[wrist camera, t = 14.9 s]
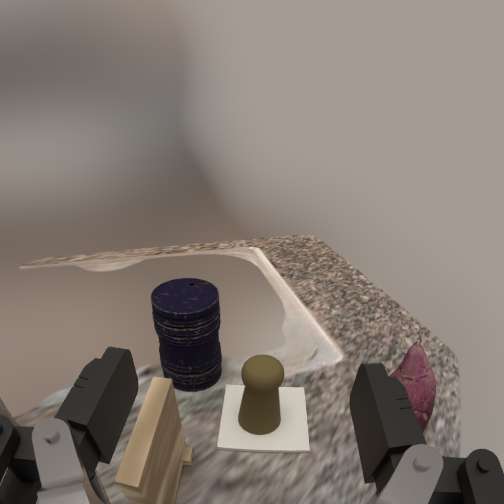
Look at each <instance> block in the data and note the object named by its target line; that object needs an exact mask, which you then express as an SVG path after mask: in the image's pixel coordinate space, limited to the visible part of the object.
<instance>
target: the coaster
mask: <svg viewBox="0 0 504 504" xmlns="http://www.w3.org/2000/svg"><path fill="white" fill-rule="evenodd" d="M244 387H245V386H242V385H227V384H226V391H225V398H224V404H223V411H222V418H221V424H220V431H219V438H218V444H217V449H221V450H233V451H248V452H273V453H307V452H309V451H310V449H309V437H308V426H307V415H306V404H305V394H304V388H294V387H279V399H280V415H281V422H280V425H279V427H278V428H277V429H276V430H275V431H273V432H271V433H269V434H265V435H254V434H250V433H248V432H246V431H245V430H243V429H242V427H241V426H240V425H239V422H238V414H239V409H240V405H241V401H242V396H243V392H244Z"/></svg>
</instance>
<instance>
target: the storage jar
mask: <svg viewBox="0 0 504 504" xmlns="http://www.w3.org/2000/svg"><path fill="white" fill-rule="evenodd" d="M151 302H152V308H153V312H152V313H153V320H154V326H155V330H156V332H157V334H158V337H159V343H160V347H159V352H160V360H161V366H162V368H163V373H164V377H165V378H169V379H172V381H173V387H174V388H176V389H178V390H181V391H186V392H197V391H202V390H205V389H208V388H210V387H211V386H213V385H214V384H215V383H216V382H217V381H218V380H219V378H220V376H221V361H222V356H221V347H220V342H219V334H218V333H219V332H218V331H219V328H220V306H219V291H218V289H217V288H216V286H214V285H213V284H212V283H210V282H208V281H205V280H201V279H195V278H181V279H174V280H170V281H167V282H164V283H162V284H160V285H159V286H157V287H156V288H155V289H154V290H153V292H152V294H151Z"/></svg>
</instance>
